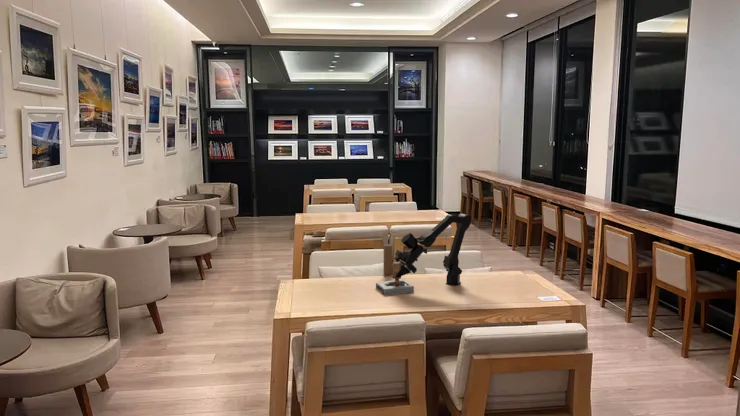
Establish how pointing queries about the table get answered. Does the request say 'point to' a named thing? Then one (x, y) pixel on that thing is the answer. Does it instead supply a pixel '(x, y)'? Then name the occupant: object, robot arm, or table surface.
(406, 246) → the robot arm
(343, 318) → the table surface
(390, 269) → the wooden block
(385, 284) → the keyhole plate
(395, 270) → the headed peg
